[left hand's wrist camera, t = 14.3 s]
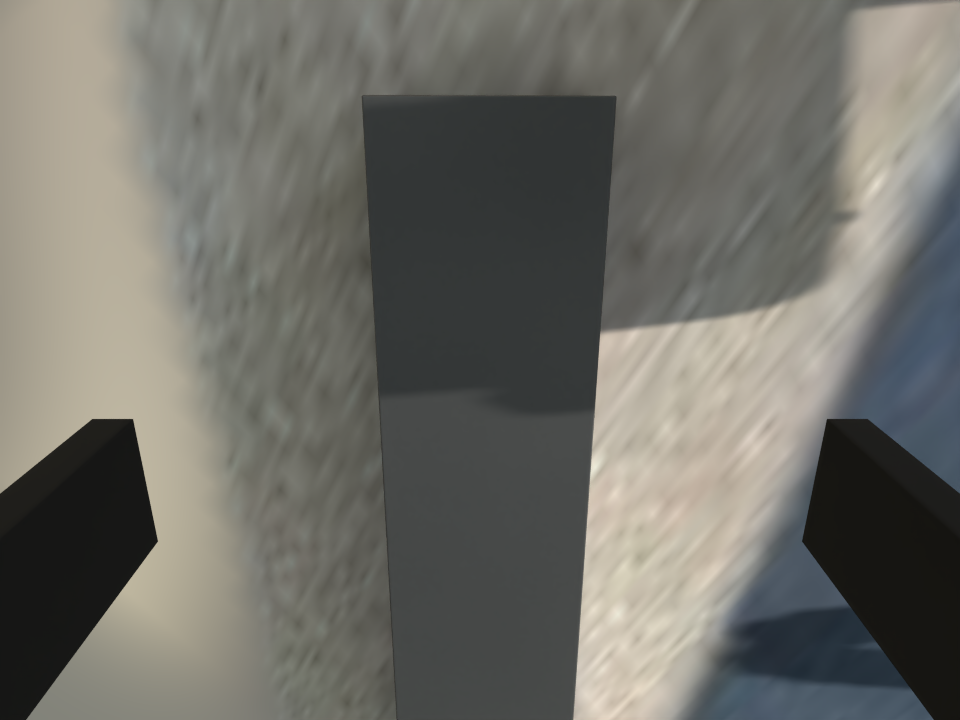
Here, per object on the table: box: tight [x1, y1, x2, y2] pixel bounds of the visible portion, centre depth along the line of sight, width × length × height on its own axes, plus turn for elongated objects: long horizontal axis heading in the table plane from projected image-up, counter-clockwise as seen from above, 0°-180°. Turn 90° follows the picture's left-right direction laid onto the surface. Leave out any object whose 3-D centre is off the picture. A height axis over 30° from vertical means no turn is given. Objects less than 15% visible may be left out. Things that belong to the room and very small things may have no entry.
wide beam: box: [362, 95, 616, 720], centre depth 39 cm, size 62×9×7 cm, turn 0°
